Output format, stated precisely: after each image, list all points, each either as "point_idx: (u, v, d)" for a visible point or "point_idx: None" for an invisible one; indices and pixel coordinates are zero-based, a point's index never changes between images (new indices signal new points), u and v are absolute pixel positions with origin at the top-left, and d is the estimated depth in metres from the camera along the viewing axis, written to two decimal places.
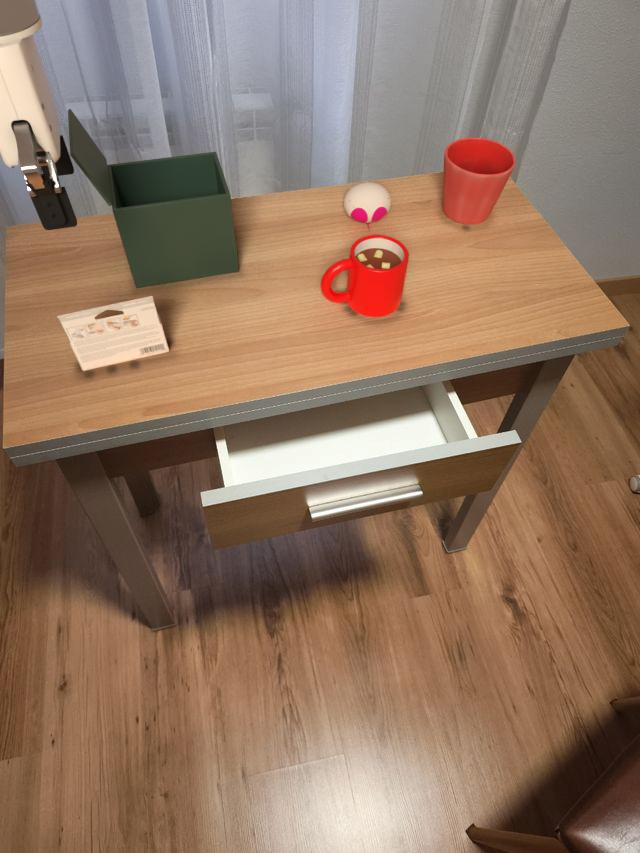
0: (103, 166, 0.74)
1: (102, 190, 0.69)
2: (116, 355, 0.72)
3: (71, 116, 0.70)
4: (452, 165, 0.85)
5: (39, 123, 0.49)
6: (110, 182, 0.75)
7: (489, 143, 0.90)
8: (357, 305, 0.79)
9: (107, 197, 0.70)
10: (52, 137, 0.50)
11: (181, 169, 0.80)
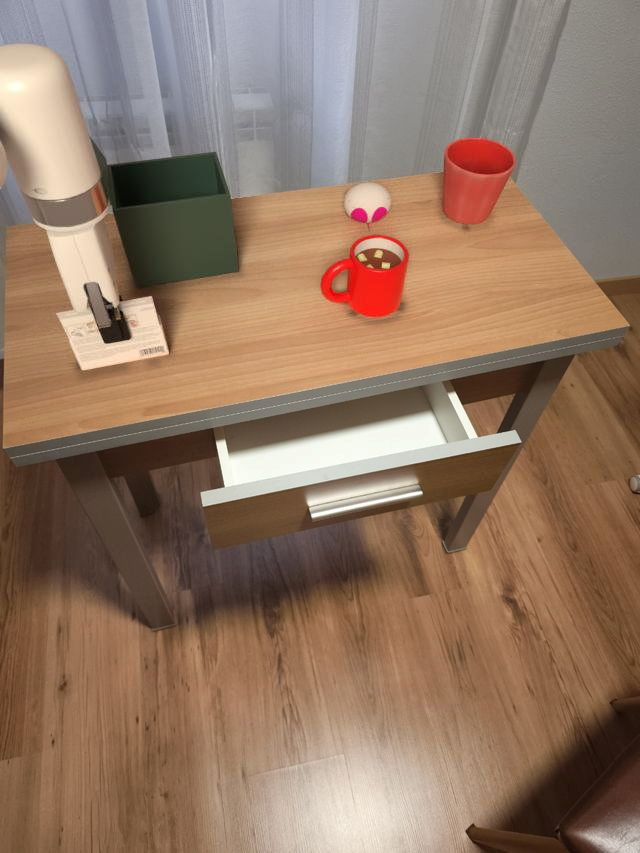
0: (103, 166, 0.74)
1: None
2: (116, 355, 0.72)
3: None
4: (452, 165, 0.85)
5: (106, 283, 0.59)
6: (110, 182, 0.75)
7: (489, 143, 0.90)
8: (357, 305, 0.79)
9: None
10: (115, 290, 0.60)
11: (181, 169, 0.80)
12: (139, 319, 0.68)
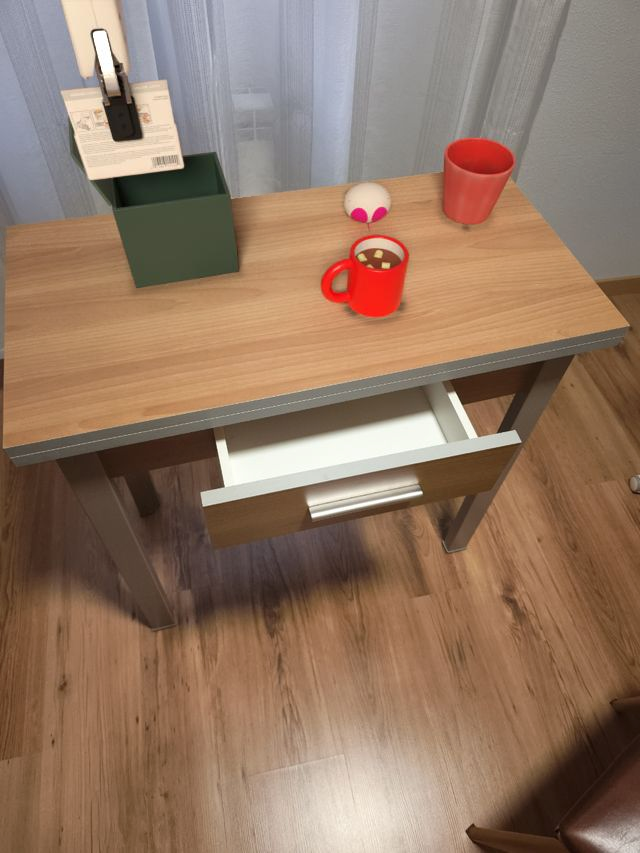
0: None
1: (102, 190, 0.69)
2: (126, 162, 0.65)
3: None
4: (452, 165, 0.85)
5: (116, 33, 0.52)
6: (110, 182, 0.75)
7: (489, 143, 0.90)
8: (357, 305, 0.79)
9: (107, 197, 0.70)
10: (126, 49, 0.53)
11: (181, 169, 0.80)
12: (152, 112, 0.62)
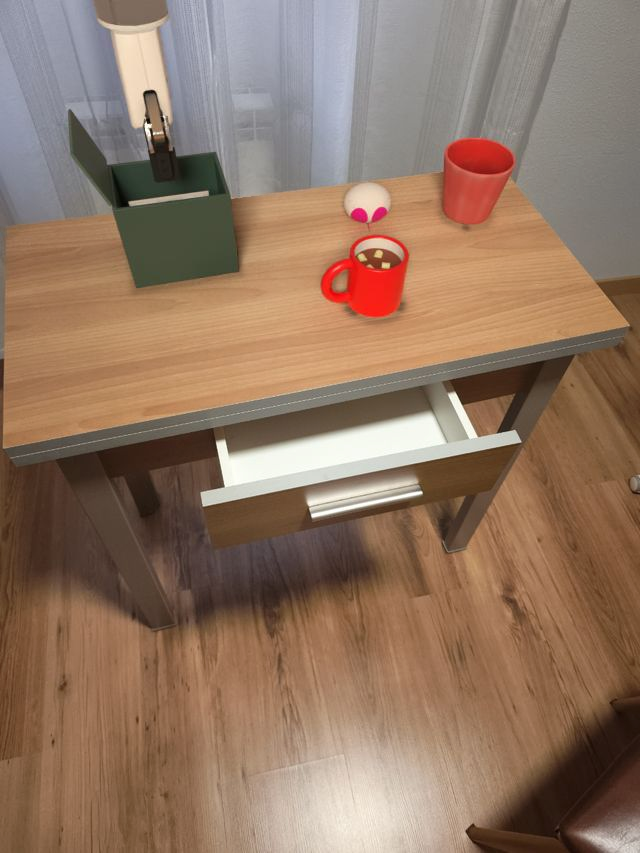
0: (103, 166, 0.74)
1: (102, 190, 0.69)
2: None
3: (71, 116, 0.70)
4: (452, 165, 0.85)
5: (163, 93, 0.63)
6: (110, 182, 0.75)
7: (489, 143, 0.90)
8: (357, 305, 0.79)
9: (107, 197, 0.70)
10: (170, 104, 0.64)
11: (181, 169, 0.80)
12: None
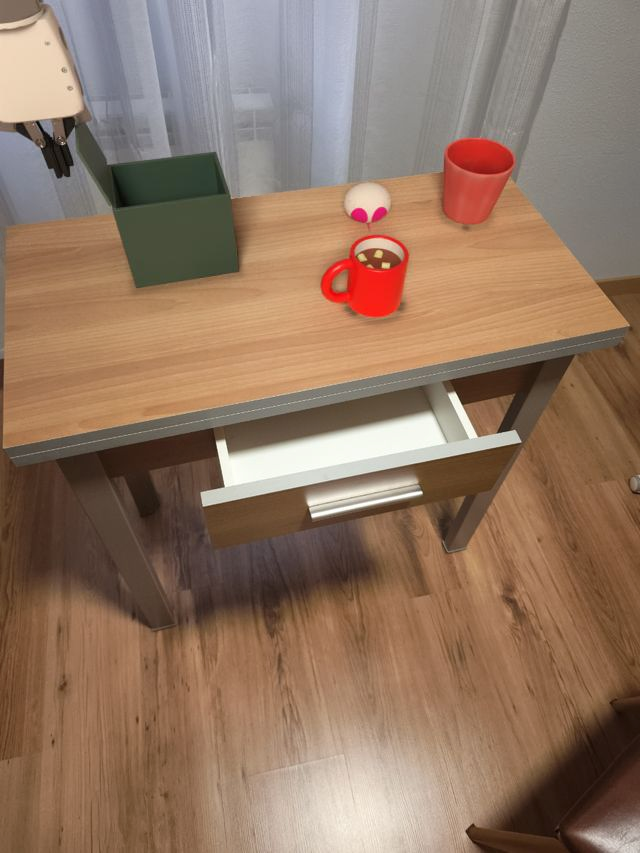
0: (104, 166, 0.74)
1: (104, 189, 0.69)
2: None
3: None
4: (452, 165, 0.85)
5: None
6: (110, 182, 0.75)
7: (489, 143, 0.90)
8: (357, 305, 0.79)
9: (108, 197, 0.70)
10: None
11: (181, 169, 0.80)
12: None
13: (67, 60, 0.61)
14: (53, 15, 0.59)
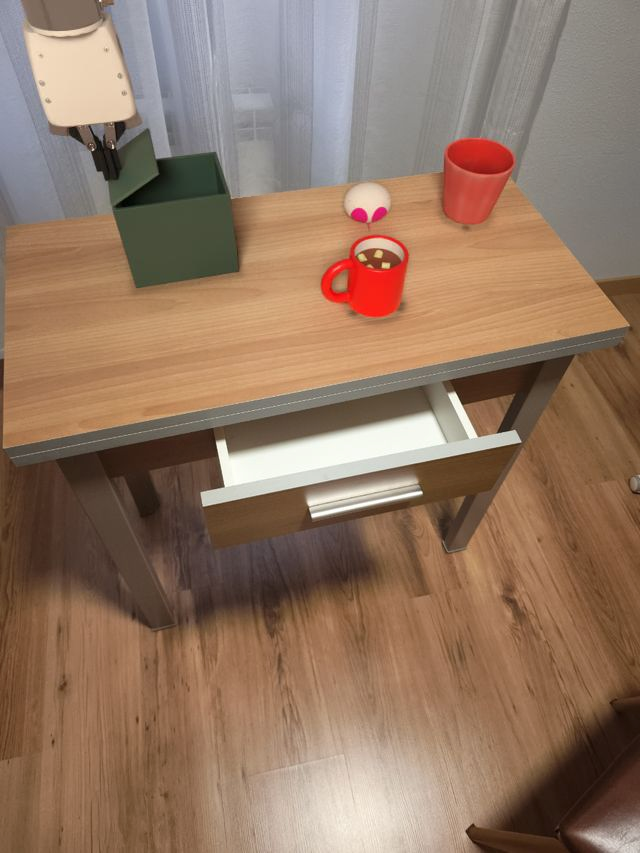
0: None
1: None
2: None
3: None
4: (452, 165, 0.85)
5: (38, 91, 0.62)
6: None
7: (489, 143, 0.90)
8: (357, 305, 0.79)
9: None
10: (47, 107, 0.63)
11: (181, 169, 0.80)
12: None
13: (123, 66, 0.63)
14: (112, 23, 0.61)
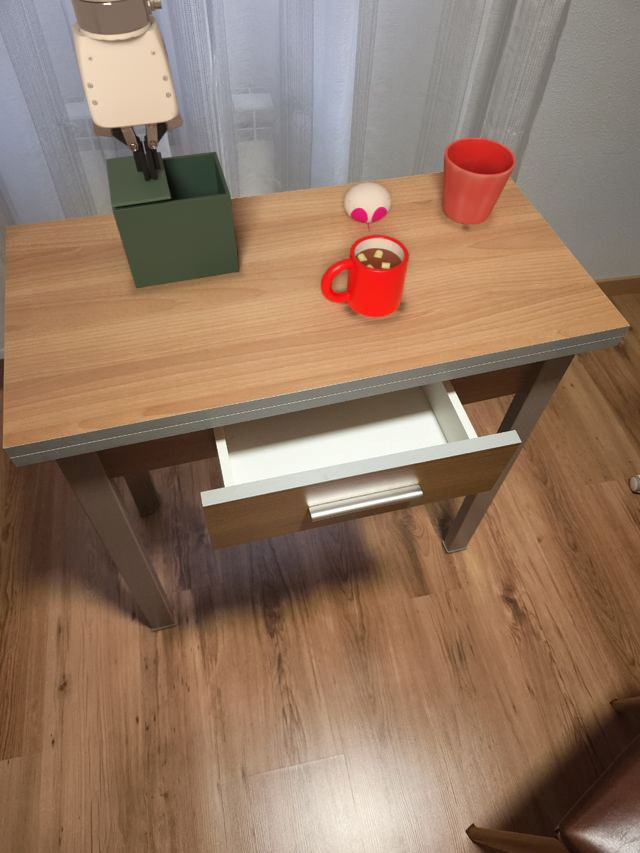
0: None
1: None
2: None
3: None
4: (452, 165, 0.85)
5: (85, 93, 0.64)
6: None
7: (489, 143, 0.90)
8: (357, 305, 0.79)
9: None
10: (93, 108, 0.65)
11: (181, 169, 0.80)
12: None
13: (168, 69, 0.64)
14: (158, 26, 0.62)
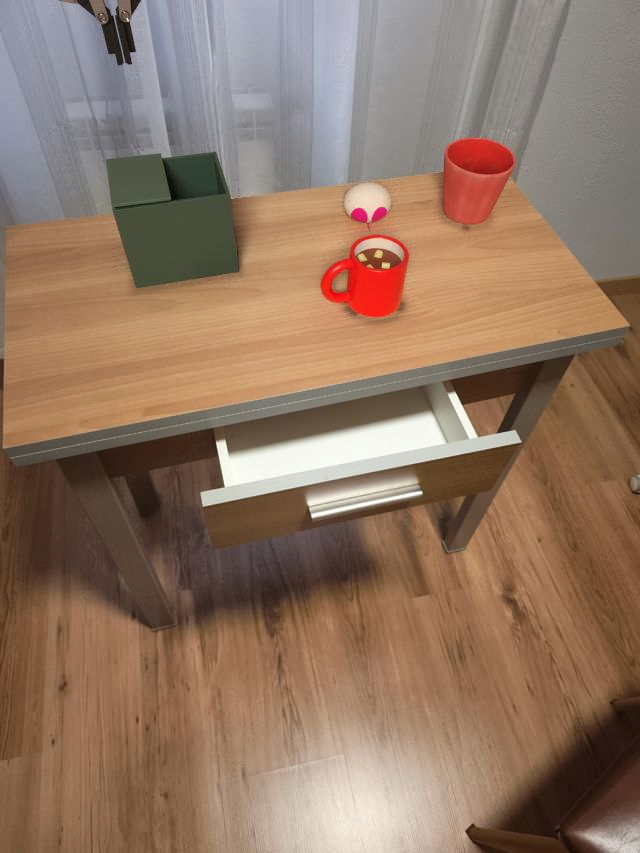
0: None
1: None
2: None
3: None
4: (452, 165, 0.85)
5: None
6: None
7: (489, 143, 0.90)
8: (357, 305, 0.79)
9: None
10: None
11: (181, 169, 0.80)
12: None
13: None
14: None
